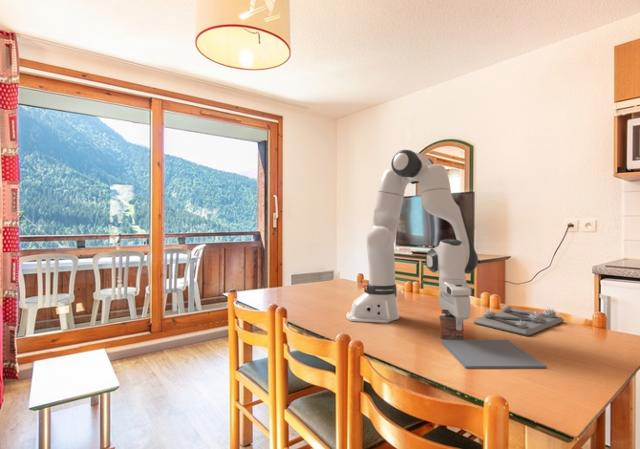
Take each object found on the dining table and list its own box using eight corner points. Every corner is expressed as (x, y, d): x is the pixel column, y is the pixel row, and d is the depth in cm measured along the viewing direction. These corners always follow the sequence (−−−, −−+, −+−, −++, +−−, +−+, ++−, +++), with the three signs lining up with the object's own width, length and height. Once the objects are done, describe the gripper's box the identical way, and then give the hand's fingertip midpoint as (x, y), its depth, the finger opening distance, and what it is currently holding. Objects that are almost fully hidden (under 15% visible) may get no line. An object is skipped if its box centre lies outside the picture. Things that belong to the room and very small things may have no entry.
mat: (465, 368, 99) (465, 366, 99) (440, 341, 121) (440, 340, 121) (546, 368, 98) (546, 365, 98) (507, 341, 120) (507, 339, 120)
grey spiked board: (510, 312, 159) (510, 296, 159) (565, 323, 142) (565, 305, 142) (471, 324, 142) (471, 306, 142) (528, 338, 124) (528, 318, 124)
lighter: (462, 336, 126) (462, 308, 126) (465, 339, 123) (464, 310, 123) (438, 336, 127) (438, 308, 127) (441, 339, 124) (440, 310, 123)
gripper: (434, 281, 135) (435, 318, 135) (453, 291, 115) (454, 334, 115) (451, 281, 135) (451, 317, 135) (473, 291, 115) (474, 334, 115)
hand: (453, 325), depth 125 cm, fingers open, 8 cm apart
